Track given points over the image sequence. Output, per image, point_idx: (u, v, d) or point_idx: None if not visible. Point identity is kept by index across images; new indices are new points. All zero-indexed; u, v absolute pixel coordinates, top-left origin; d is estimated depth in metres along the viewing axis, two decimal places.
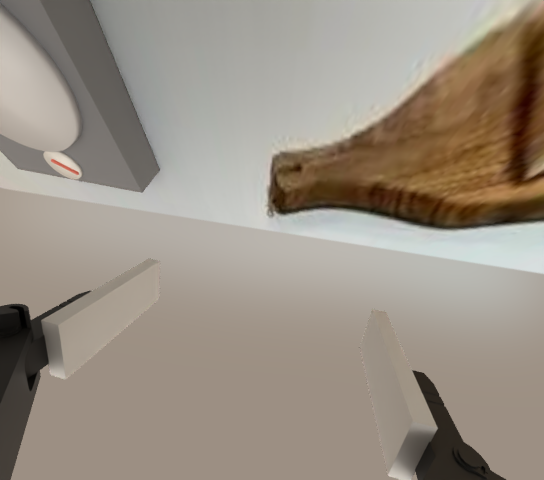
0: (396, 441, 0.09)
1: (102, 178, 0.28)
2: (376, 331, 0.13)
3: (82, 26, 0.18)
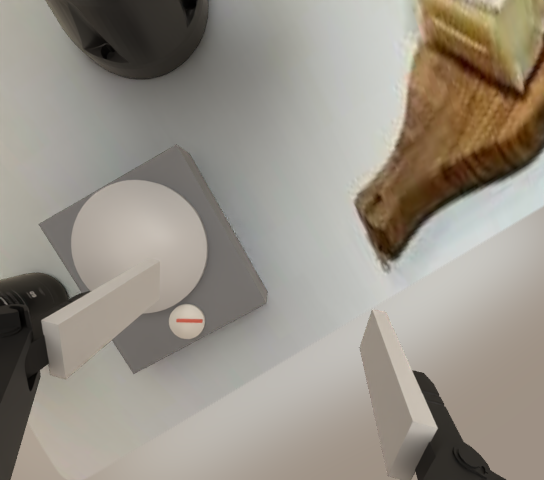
0: (396, 441, 0.09)
1: (224, 314, 0.26)
2: (375, 331, 0.13)
3: (204, 185, 0.27)
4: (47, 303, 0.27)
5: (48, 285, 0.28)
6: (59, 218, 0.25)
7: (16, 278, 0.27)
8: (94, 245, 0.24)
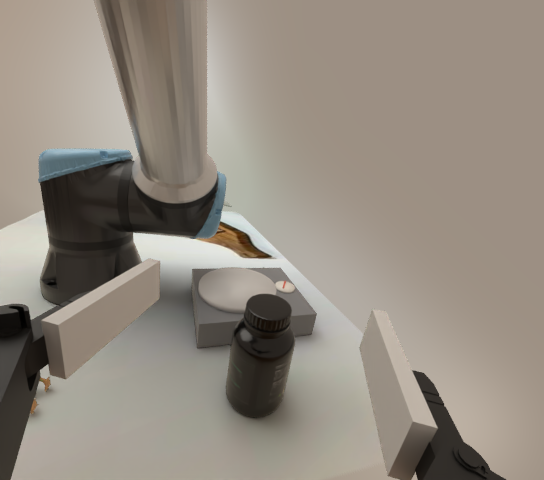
0: (396, 441, 0.09)
1: (283, 277, 0.50)
2: (375, 331, 0.13)
3: None
4: None
5: None
6: (201, 314, 0.36)
7: None
8: (229, 297, 0.39)
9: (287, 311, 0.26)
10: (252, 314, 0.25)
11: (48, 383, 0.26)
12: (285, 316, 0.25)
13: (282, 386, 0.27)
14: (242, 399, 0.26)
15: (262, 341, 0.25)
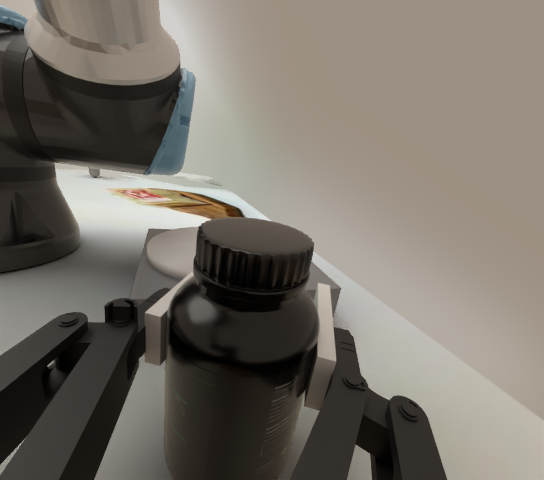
0: (310, 377, 0.11)
1: None
2: (316, 299, 0.15)
3: None
4: None
5: None
6: (140, 283, 0.20)
7: None
8: None
9: (303, 243, 0.10)
10: (209, 245, 0.09)
11: None
12: (298, 250, 0.09)
13: (290, 431, 0.11)
14: (190, 468, 0.11)
15: (236, 318, 0.09)
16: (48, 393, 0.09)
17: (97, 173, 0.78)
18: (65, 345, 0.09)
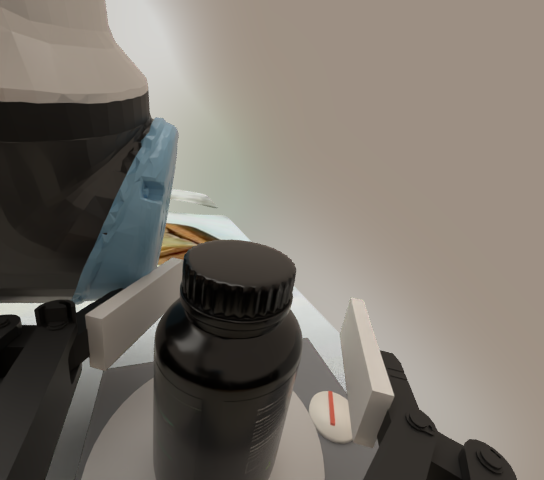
0: (360, 410, 0.10)
1: (321, 373, 0.22)
2: (352, 317, 0.14)
3: None
4: None
5: None
6: None
7: None
8: None
9: (285, 270, 0.11)
10: (194, 275, 0.09)
11: None
12: (280, 278, 0.10)
13: (274, 446, 0.12)
14: None
15: (220, 345, 0.09)
16: None
17: None
18: None
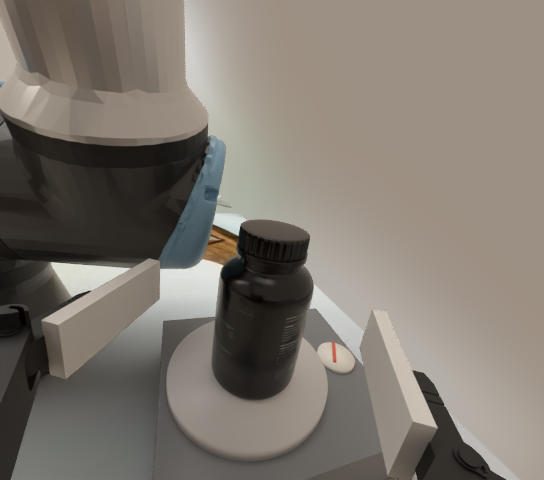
0: (396, 441, 0.09)
1: (327, 332, 0.28)
2: (375, 331, 0.13)
3: None
4: None
5: None
6: (163, 478, 0.14)
7: None
8: (232, 410, 0.17)
9: (303, 235, 0.17)
10: (249, 236, 0.16)
11: None
12: (300, 239, 0.16)
13: (294, 353, 0.18)
14: (233, 372, 0.17)
15: (264, 278, 0.16)
16: None
17: None
18: None
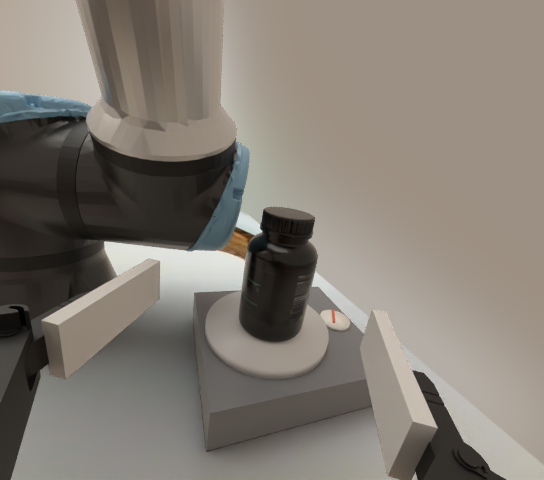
0: (396, 441, 0.09)
1: (327, 303, 0.34)
2: (375, 331, 0.13)
3: None
4: None
5: None
6: (213, 385, 0.20)
7: None
8: (257, 348, 0.23)
9: (310, 217, 0.23)
10: (271, 216, 0.22)
11: None
12: (308, 219, 0.22)
13: (303, 307, 0.24)
14: (258, 319, 0.23)
15: (282, 247, 0.22)
16: None
17: None
18: None
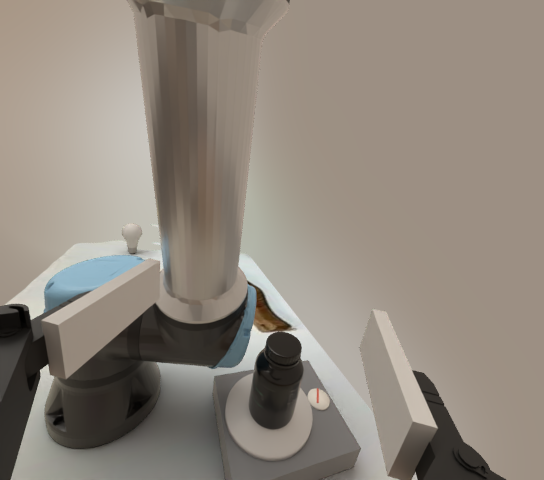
0: (396, 441, 0.09)
1: (314, 380, 0.45)
2: (376, 331, 0.13)
3: None
4: None
5: None
6: (234, 469, 0.31)
7: None
8: (262, 435, 0.34)
9: (298, 348, 0.34)
10: (272, 352, 0.32)
11: None
12: (296, 352, 0.33)
13: (294, 405, 0.35)
14: (263, 416, 0.34)
15: (279, 372, 0.33)
16: None
17: (135, 250, 0.89)
18: None
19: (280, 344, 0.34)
